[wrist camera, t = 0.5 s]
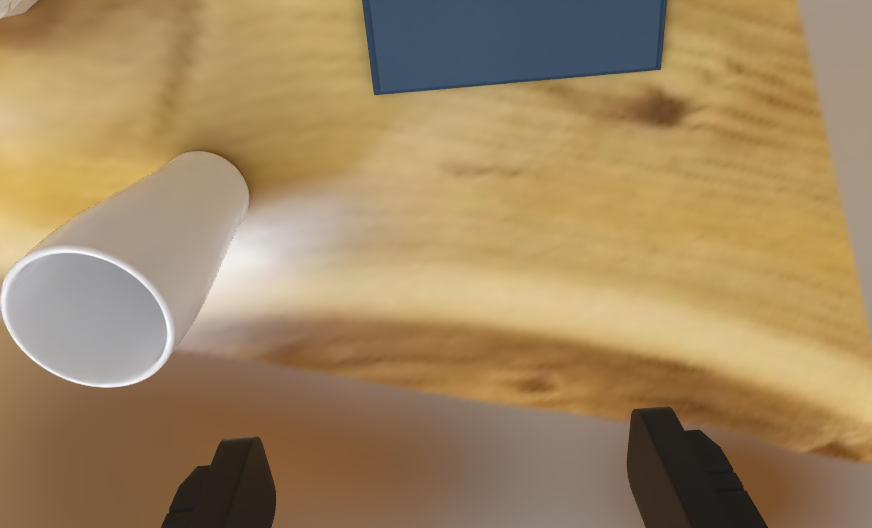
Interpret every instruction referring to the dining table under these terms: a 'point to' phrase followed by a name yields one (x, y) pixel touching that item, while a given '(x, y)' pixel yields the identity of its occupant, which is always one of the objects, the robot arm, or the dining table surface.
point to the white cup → (15, 7)
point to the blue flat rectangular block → (508, 41)
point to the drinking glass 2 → (126, 273)
